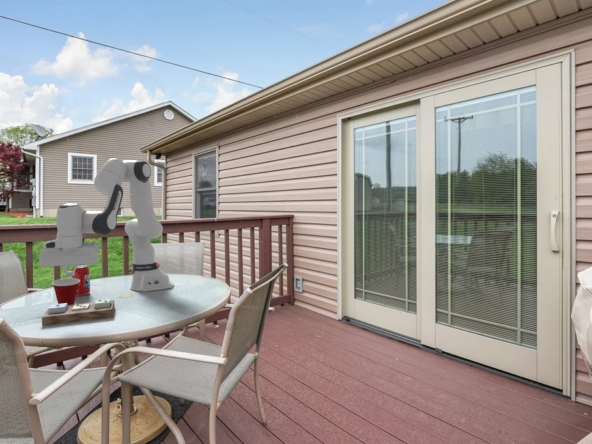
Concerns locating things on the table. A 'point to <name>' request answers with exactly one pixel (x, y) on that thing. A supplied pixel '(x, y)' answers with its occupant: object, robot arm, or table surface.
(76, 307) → the tile three dots
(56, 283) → the plastic cup
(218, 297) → the table surface
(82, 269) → the soda can
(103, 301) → the tile two dots
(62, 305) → the tile one dot
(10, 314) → the table surface
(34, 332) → the table surface
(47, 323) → the keypad board
